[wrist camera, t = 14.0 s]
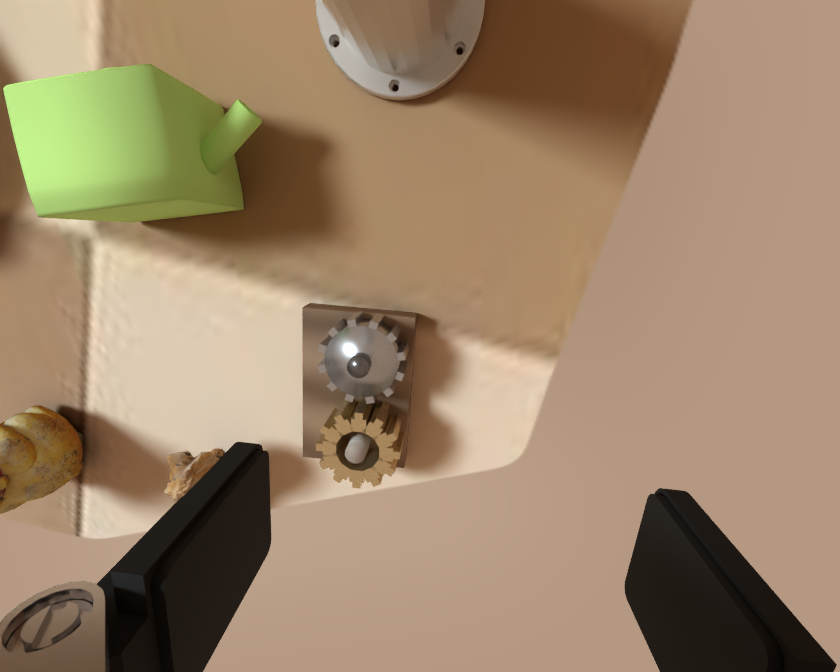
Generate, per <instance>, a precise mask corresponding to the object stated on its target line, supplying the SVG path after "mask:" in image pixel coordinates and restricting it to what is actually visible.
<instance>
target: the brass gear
mask: <svg viewBox="0 0 840 672" xmlns="http://www.w3.org/2000/svg"><path fill="white" fill-rule="evenodd" d="M389 406H390V405H389V404H388V403H386V402H384V401H383V402H382V404H381V405H378V404H377V405H376V406H375V408H374V403H370V404H367V403H366V399H365V397H362V399H361V401H360V402H359V404H357V402H355V403H353V402H350V401H347V400H344V401H343V403H342V405H341V406H340V408H339V410H337V409H336V408H334V410H333V411H332V413H331V414H330V416H329V417H328V419H327V421H326V422H325V424H324V425H323V427H322V429H321V430H320V432H321V433H322V434H321V436H320V438H319V439H318V441H317V443H316V451H323V455H324V456H323V457H322V459H321V461H320V465H321V466H322V468H323V469H325V468H328V467H329V468H330V469H331V470H332V469H334V468H335V470H334V472H333V473H335V475H334V477H333V479H334V480H335V481H337V482H339V483H340V482H341V480H342V479H345V480H346V479H347V478H348V476H349V481H350V482H353V488H361V485H362V483H364V481H365V479H366V481H367V483H368V482H370V481H371V483H372V485H373V487H374V486H377V485H380V484H381V480H382V477H383V475H384V474H385V473H386V474H387V475H389V476H392V474H393V473H394V472H395V469H396V465H397V461H398V459H399V460H400V455H401V451H402V446H403V441H404V432H399V430H400V426H401V422H402V420H401V418H400V416H399V414H398V415H396V416H392V414H390V415H388V413H389V411H388V409H389ZM352 431H353V432H362V433H365V434H367V435H369V436H370V437H372V438H373V439H374V440H375V442H376V443H377V445H378V447H376V448H374V449H371V450H368V451H367V454H366V457H365V459H364V460H363V461H362V462H361V463H352V462H350V461H348V460H347V458H346V457H345V450H346V448H347V446H348V444H349V442H350V441H349V439H348V437H347V435H346V434H348V433H350V432H352Z"/></svg>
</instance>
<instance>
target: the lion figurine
mask: <svg viewBox="0 0 840 672" xmlns="http://www.w3.org/2000/svg"><path fill="white" fill-rule="evenodd" d="M222 456H223V451H222V450H221V449H214V450H212V451H211V452H201V453H200V454H199V455H198V456H197V457H195V458H194V457H193V456H192V455H191V453H190V452H189V451H185V452H178V453H175V454H173V455H169V456H168V457H167V461H168V463H169V466H170V473H169V478H170V482H169V483H168V485H167V488H166V489H165V492H164V493H165V494H168V495H170V496H171V497H172V498H173V500H174V501H175V503H176V502H177V501H178V500H179V499H180V498H181V497H183V496H184V495H185V494H186V493H187V492H188V491H189V490H190V489H191V488H192V487H193V486H194V485H195V484H196V483H197V482H198V481H199V480H200V479H201V478H202V477H203V476H204V475H205V474H206V473H207V472H208V470H209V469H210V468H211V467H212V466H213V465H214V464H215V463H216V462H217V461H218V460H219V459H220V458H221V457H222Z"/></svg>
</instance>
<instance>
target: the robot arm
mask: <svg viewBox="0 0 840 672" xmlns="http://www.w3.org/2000/svg"><path fill="white" fill-rule="evenodd" d="M315 3H316V16H317V21H318V25H319V29H320V33H321V36H322V39H323V41H324V43H325V46H326V48H327V51H328V52H329V54H330V55H331V57H332V59H333V60H334V62H335V63H336V65H337V66H338V67H339V69H340V70H341V71H342V72H343V74H344V75H345V76H346V77H347V78H348V79H349V80H351V81H352V82H353V83H354V84H355V85H356V86H358V87H359V88H361V89H363V90H364V91H366V92H368V93H369V94H372V95H375V96H377V97H380V98H383V99H390V100H398V101H400V100H411V99H416V98H419V97H422V96H426V95H429V94H431V93H432V92H434V91H436V90H438V89H439V88H441V87H443V86H444V85H445V84H446V83H448V82H449V81H450V80H451V79H452V78H453V77H455V76H456V74H457V73H458V72H459V71H460V69H461V68H462V67H463V66H464V65H465V63H466V62H467V60H468V58H469V56H470V54H471V53H472V51H473V49H474V47H475V44H476V42H477V39H478V36H479V33H480V30H481V25H482V20H483V15H484V6H485V0H315ZM337 42H339V43H340V44H339V46H338V47H335V43H337ZM459 49H461V50H462V51H463V53H462V54H461V55H458V54H457V53H456V52H457V50H459ZM394 86H398V87H399V89H398V91H396V92H394V91H393V87H394ZM270 516H271V515H270V480H269V454H268V452H267V451H263V449H262V446H261V445H260V444H253V443H244V442H236V443H235V444H234V445H233V446H232V447H231V448H230V449H229V450H228V451H227V452H226V453H225V454H224V455H223V456H222V457H221V458H220V459H219V460H218V461H217V462H216V463H215V464H214V465H213V466H212V467H211V468H210V469H209V470H208V472H207V473H206V474H205V475H204V476H203V477H202V478H201V479H200V480H199V481H198V482H197V483H196V484H195V485H194V486H193V487H192V488H191V489H190V490H189V491H188V492H187V493H186V494H185V495H184V496H183V497H181V498H180V499H179V500H178V501H177V502H176V503H175V504H174V505H173V506H172V507H171V508H170V509H169V510H168V511H167V512H166V513H165V515H164V516H163V517H162V518H161V519H160V520H159V521H158V522H157V523H156V524H155V525H154V526H153V527H152V528H151V529H150V530H149V531H148V532H147V533H146V534H145V535H144V536H143V537H142V538H141V539H140V540H139V541H138V542H137V543H136V545H134V546H133V547H132V548H131V549H130V550H129V552H128V553H127V554H126V555H125V556H124V557H123V558H122V559H121V560H120V561H119V562H118V563H117V564H116V565H115V566H114V567H113V568H112V569H111V570H110V571H109V572H108V573H107V574H106V575H105V576H104V577H103V578H102V579H101V580H100V581H99V582H98V583H97V584H95V583H90V582H86V581H79V582H69V583H65V584H61V585H57V586H54V587H52V588H49V589H47V590H44V591H42V592H40V593H37V594H36V595H34V596H32V597H31V598H29V599H27V600H26V601H24V602H22V603H21V604H19V605H18V606H17V607H16V608H14V609H13V610H12V611H11V612H10V613H8V614H7V615H6V616H5V617H4V618H3V619H2V620H1V622H0V672H203V670H204V669H205V667H206V665H207V663H208V661H209V660H210V658H211V656H212V654H213V652H214V650H215V649H216V647H217V645H218V643H219V641H220V639H221V638H222V636H223V634H224V632H225V630H226V629H227V627H228V625H229V623H230V621H231V620H232V618H233V616H234V614H235V612H236V610H237V608H238V607H239V605H240V603H241V601H242V600H243V598H244V596H245V594H246V592H247V590H248V589H249V587H250V585H251V583H252V581H253V580H254V578H255V576H256V574H257V572H258V570H259V569H260V567H261V565H262V563H263V561H264V560H265V558H266V556H267V554H268V551H269V548H270V544H271V517H270ZM625 594H626V598H627V601H628V603H629V605H630V607H631V609H632V612H633V614H634V616H635V618H636V620H637V622H638V625H639V627H640V629H641V631H642V633H643V635H644V638H645V640H646V642H647V644H648V646H649V649H650V651H651V653H652V655H653V657H654V660H655V662H656V664H657V666H658V668H659V670H660V672H833V671H834V669H835V667H836V663H835V662H834V661H833V660H832V659H831V658H830V656H829V655H828V654H827V653H826V652H825V651H824V649H823V648H822V647H821V646H820V645H819V644H818V643H817V641H816V640H815V639H814V638H813V637H812V636H811V634H810V633H809V632H808V631H807V630H806V629H805V627H804V626H803V625H802V624H801V623H800V622H799V621H798V620H797V618H796V617H795V616H794V615H793V614H792V612H791V611H790V610H789V609H788V608H787V607H786V605H785V604H784V603H783V602H782V601H781V600H780V598H779V597H778V596H777V595H776V594H775V593H774V591H773V590H772V589H771V588H770V587H769V586H768V585H767V583H766V582H765V581H764V580H763V579H762V578H761V576H760V575H759V574H758V573H757V572H756V571H755V569H754V568H753V567H752V566H751V565H750V564H749V563H748V561H747V560H746V559H745V558H744V557H743V556H742V554H741V553H740V552H739V551H738V550H737V549H736V547H735V546H734V545H733V544H732V543H731V542H730V540H729V539H728V538H727V537H726V536H725V535H724V534H723V532H722V531H721V530H720V529H719V528H718V527H717V525H716V524H715V523H714V522H713V521H712V520H711V519H710V517H709V516H708V515H707V514H706V513H705V512H704V510H703V509H702V508H701V507H700V506H699V505H698V503H697V502H696V501H695V500H694V499H693V498H692V496H691V495H690V494H689V493H687V492H685V491H679V490H671V489H662V488H660V489H658V490H657V491H656V492H655V494H650V495H649V497H648V499H647V503H646V506H645V510H644V513H643V517H642V521H641V524H640V528H639V532H638V535H637V539H636V543H635V547H634V550H633V554H632V558H631V562H630V565H629V569H628V573H627V576H626V580H625Z"/></svg>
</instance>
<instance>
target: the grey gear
mask: <svg viewBox="0 0 840 672" xmlns="http://www.w3.org/2000/svg"><path fill="white" fill-rule="evenodd" d="M383 318H384V315H382V314H379V313H376V314H375V316H374V317H373V318H372V319H371V318H364V314H363V311H362V312H356V313H354V314H353V315H352V316H351V317H350V318H349V319H348V320H347V322H346V321H345V320H344V319H342V320H340V321H339V322H338V323H337V324H336V325H335V326H334V327H333V328H332V329H330V330H329V331H328V333H329V334H330V335H329V336H328V337H327V338H326V339H325V340H324V341H323V342H321V343H320V345H319V349H318V352H320V353H323V354H325V357H324V359H323V360H322V361H321V362H320V363H319V365H318V369H319V373H325V372H327V374H328V376H329V378H330V379H331V381H330V382H329V383H328V385H327V387H328V388H329V389H330V390H331V391H332V392H333V391H334V390H335V389H336V388H337V387H338V388H339V389H340V390H341V391H343V392H345V393H347V394H346V397H345V400H347V401H350V402H353V400H354V398H355V397H365V399H366V403H367V404H370V403H375V401H376V398H377V396H378V394H380V393H382V392H383V393H384V394H385V395H386V396H387V397H389V396H390V395H391V394H392V393H394V390H395V387H396V384H397V381H398V380H399V381H402V379H403V377H404V374H405V371H406V367H407V364H408V362H406V361H404V360H406V357H407V354H408V351H409V346H408V342H402V343H401V342H400V340H399V337H398V336H399V333H400V331H401V328H400V327H399V326H398V325H397V324H395V325H394V326H392V327H390V326H388V325H387V324H385V323H384V322H382V321H383ZM346 324H347V325H346Z"/></svg>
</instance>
